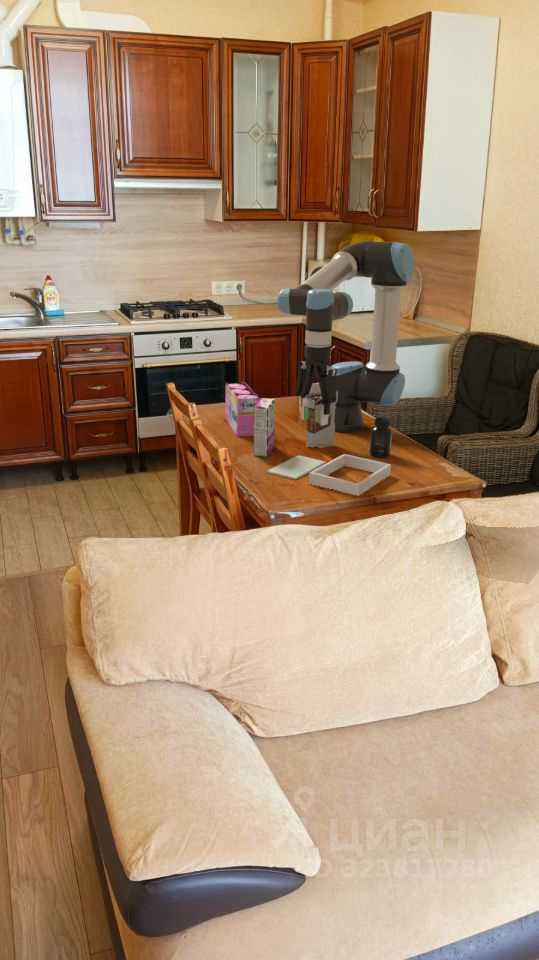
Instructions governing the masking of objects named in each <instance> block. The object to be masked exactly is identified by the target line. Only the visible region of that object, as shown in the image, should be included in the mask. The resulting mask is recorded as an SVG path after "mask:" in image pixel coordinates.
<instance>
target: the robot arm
mask: <svg viewBox="0 0 539 960" xmlns="http://www.w3.org/2000/svg"><path fill="white" fill-rule="evenodd" d="M415 263H416V262H415V254H414V251H413V249H412V248H411V246H410V245H408V244H406V243H402V242H397V241H374V240H373V241H371V240H363V241H358V242H354V243H353V244H350V245H347V246H345V247H344V248H342V249H341V250H339V251H337V252H336V253H335V254H334V255H333V256H332V257H331V260H330V261H329V262H328V263H326V264H325V265H324V266H322V268H320V269H318V270H317V271H316V272H315V273H314V274H312V275H311V276H310V277H308V278H307V279H306V280H304V281H303V282H302V283H301V284H299V285H297V287H295V288H291V287H289V288H283V289H281V290H280V292H279V293H278V295H277V307H278V310H279V312H281V314H287V315H290V316H291V315H293V316H302V317H303V316H304V317H305V334H304V335H305V339H304V343H305V346H304V358H305V360H303V361H298V362H297V367H298V372H297V380H296V381H297V382H296V389H295V390H296V391H295V393H296V395H299V396H300V398H301V399H300V407H301V420H303V421H306V406H305V405H304V404H303V402H304V398H305V396H306V395H308V394H309V393H310V391H311V387H312V384H314V381H315V378H316V381H317V383H319V386H320V391H321V395H322V400H323V403H321V408H320V425H321V426H323V425H326V424H328V414H330V404H331V403H334V402H336V391H337V392H338V400H337V403H336V404H335V406H336V407H335V414H334V415H335V418H334V423H335V432H341V433H353V432H357V431H358V432H359V431H361V430H363V429H364V427H365V420H364V415H363V412H362V407H361V402H364V403H369V404H375V405H380V406H387V407H388V406H389V407H392V406H394V405H396V404H397V403H398V402H399V400H400V399H401V397H402V394H403V392H404V389H405V385H406V377H405V375H404V374H403V372H401V371H400V369H401V366H400V365H399V364H398V363H397V352H398V341H399V328H400V327H399V326H400V325H399V324H400V315H401V312H400V311H401V299H402V291H403V290H404V289H405V288H406V287H407V282H409V281H411V280H412V279H413V277H414V272H415V266H416V264H415ZM354 278H369V279H370V278H371V281H370V282H371V283H370V285H371V286H372V287H373V288H374V291H375V292H374V303H373V304H374V305H373V318H372V319H373V320H372V322H373V323H372V334H371V335H372V337H371V351H370V360H369V362H367V363H366V364H365V365H364V363H363V362H362V361H342V362H337V363H334V364H332V365H330V363H329V361H330V359H331V355H332V346H331V344H332V332H333V331H332V330H333V321H337V320H342V319H345V317H348V316H349V315H351V313H352V312H353V308H354V302H353V299H352V298H353V297H352V296H351V295H350V294H349V293H347V292H345V291H336V292H333V291H334V290H335V289H336V288H337V287H339V286H340V285H341V284H342V283H343V282H345V281H350V280H351V279H354ZM364 366H365V367H364Z"/></svg>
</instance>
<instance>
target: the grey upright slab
mask: <svg viewBox="0 0 539 960" xmlns="http://www.w3.org/2000/svg"><path fill="white" fill-rule="evenodd" d="M319 392H321V391H320V386H319V382H315V383H314V382H313V384H312V387H311V390H310V393H309V394H311V393H319ZM337 400H338V392H337V391H336V402H334V403H333V407H332V418H331V426H330V427H328V428H326V429H324V430H322V431H320V432H318V433H316V434H313V433H310V432H308V431H307V430H306V448H307V447H318V448H319V449H324V447H325V448H329V447H328V446H330V447H334V446H333V445H335V435H336V431H335V423H334V418H335V415H334V414H335V407H336V406H335V404H336V403H337Z"/></svg>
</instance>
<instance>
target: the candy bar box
mask: <svg viewBox="0 0 539 960" xmlns="http://www.w3.org/2000/svg"><path fill="white" fill-rule="evenodd" d="M259 399H260V400H259V402H258V403H257V404H256V405H255V407H254V436H253V456H255V457H266V458H267V457H269V455H270V454H271V452H272V450H273V449H274V447H275V421H276V420H275V417H276V416H275V415H276V414H275V413H276V399H275V398H266V397H261V398H259Z"/></svg>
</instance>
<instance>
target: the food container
mask: <svg viewBox="0 0 539 960" xmlns="http://www.w3.org/2000/svg"><path fill="white" fill-rule="evenodd" d="M321 403H323V400H322V395H321V392H319V393H311V394H308V395H306V396H305V398H304V402H303V404H304V405H305V406H306V420H305V421H306V422H305V423H306V425H305V426H306V432H307V431H308V432H310V433H313V434H316V433H318V432H320V431H322V430H324V429H326V428H328V427H330V426H331V418H332V407H333V403H331V404H330V414H328V424H326V425H323V426H321V425H320V408H321Z"/></svg>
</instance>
